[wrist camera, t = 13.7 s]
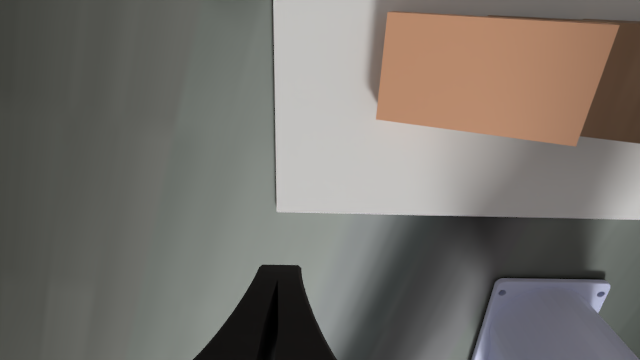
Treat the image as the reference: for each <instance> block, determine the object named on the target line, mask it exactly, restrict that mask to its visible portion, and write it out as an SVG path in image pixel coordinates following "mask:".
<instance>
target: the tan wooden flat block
mask: <svg viewBox="0 0 640 360" xmlns="http://www.w3.org/2000/svg"><path fill="white" fill-rule="evenodd" d="M619 26H620V25H615V24H609V23H597V22H579V21H561V20H544V19H526V18H508V17H490V16H472V15H454V14H437V13H419V12H401V11H391V12H388V13H387V22H386V31H385V40H384V49H383V58H382V68H381V77H380V86H379V95H378V104H377V113H376V120H384V121H391V122H398V123H406V124H413V125H421V126H428V127H435V128H443V129H450V130H457V131H465V132H472V133H480V134H487V135H494V136H502V137H509V138H516V139H524V140H531V141H539V142H546V143H553V144H561V145H568V146H575V147H576V145H577V142H578V139H579V137H580V134H581V131H582V128H583V126H584V123H585V120H586V117H587V114H588V112H589V109H590V106H591V103H592V101H593V98H594V95H595V92H596V89H597V87H598V84H599V81H600V78H601V76H602V73H603V70H604V67H605V65H606V62H607V59H608V56H609V53H610V51H611V48H612V45H613V42H614V40H615V37H616V34H617V31H618V28H619Z"/></svg>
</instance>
